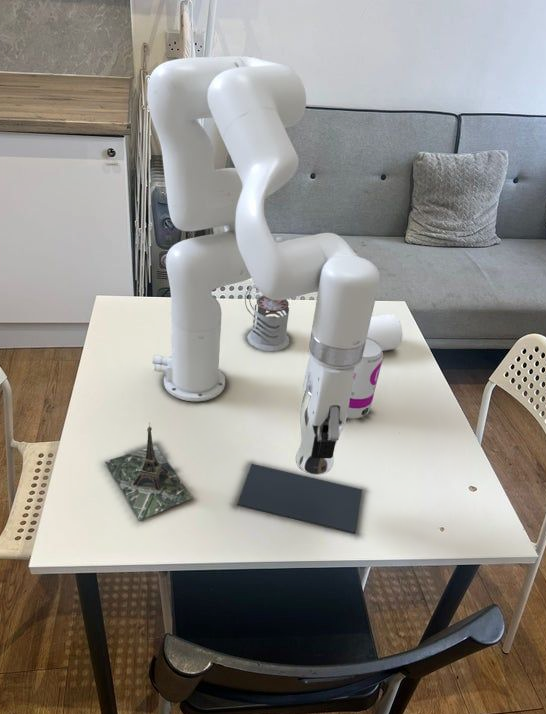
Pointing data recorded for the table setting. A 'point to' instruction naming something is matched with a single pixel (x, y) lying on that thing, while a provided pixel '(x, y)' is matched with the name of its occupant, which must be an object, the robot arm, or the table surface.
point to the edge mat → (301, 498)
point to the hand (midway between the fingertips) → (318, 440)
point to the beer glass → (311, 441)
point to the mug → (385, 331)
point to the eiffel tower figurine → (148, 480)
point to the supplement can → (365, 379)
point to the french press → (269, 322)
